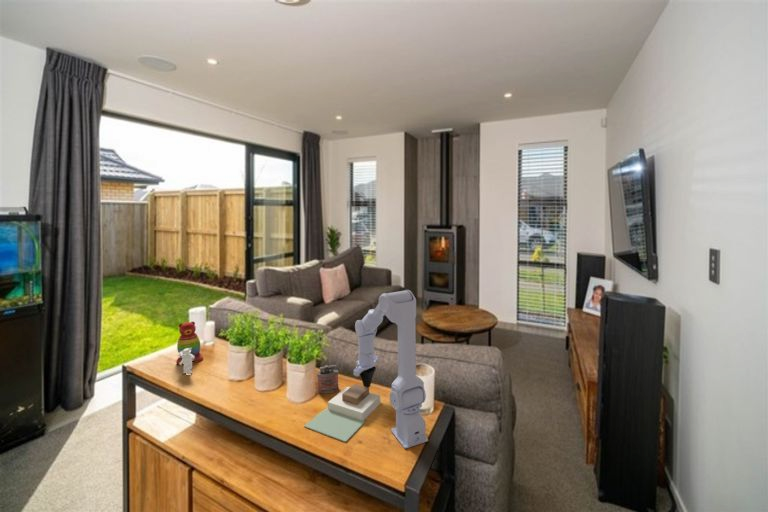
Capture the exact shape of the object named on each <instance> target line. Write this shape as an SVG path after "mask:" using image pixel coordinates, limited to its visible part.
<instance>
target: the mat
mask: <svg viewBox="0 0 768 512" xmlns="http://www.w3.org/2000/svg"><path fill="white" fill-rule="evenodd" d="M365 423H366V421H365V420H364V421H363V420H360V419H356V418H353V417H350V416H347V415H344V414H341V413H338V412H335V411H332V410H329V409H328V408H324V409H323V410H322V411H320V413H318V414H317V415H315V416H314V417H313V418H312V419H310V420H309V421H308V422H307V423H305V424H304V425H303V427H304V428H305V427H306V429H308V428H309V430H312V431H314V432H316V433H320V434H322V435H325V436H328V438H329V437H330V438H332V439H335V440H337V441H340V442H343V443H347V442H348V441H349V439H351V437H353V435H355V434H356V433H357V432H358V431H359V429H361V428H362V427H363V425H364V424H365Z"/></svg>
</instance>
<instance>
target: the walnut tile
mask: <svg viewBox="0 0 768 512" xmlns="http://www.w3.org/2000/svg"><path fill="white" fill-rule="evenodd" d="M349 387H350V388H349V389H348V390H347V391H345V392H344V393H343V394H342V401H345V402H348V403H351V404H355V405H358V404H359V403H360V402H361V401H362V400H363V399H364V398H366V397H367V396H368V395H369V393H370V387H365V386H364V385H360V384H358V383H354V384H353V385H351V386H349Z"/></svg>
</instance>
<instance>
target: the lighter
mask: <svg viewBox="0 0 768 512" xmlns="http://www.w3.org/2000/svg"><path fill="white" fill-rule="evenodd" d="M316 376H317V394H319V393H324V394H331V392H332V393H335V391H336V392H339V390H340V389H339V370H338V369H337V364H332V365H327V364H325V365H324V366H320V367H319V371H318V372H317V373H316Z"/></svg>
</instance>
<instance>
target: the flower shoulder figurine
mask: <svg viewBox="0 0 768 512" xmlns="http://www.w3.org/2000/svg"><path fill="white" fill-rule="evenodd" d="M189 349H190V350H189ZM190 352H191V348H186V349H184V350H183V352H182V351H181V352H180V353H178V354H177V357H178V358H180V357H181V358H182V360H181V362H180V363H179V365H178V366H182V363H184V364H183V373H187V374H191V373H192V374H193V372H192V369H193V362H192V361H193V360H194V358H195V356H193V355H192V354H191V353H190ZM178 358H177V359H178ZM192 359H193V360H192Z"/></svg>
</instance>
